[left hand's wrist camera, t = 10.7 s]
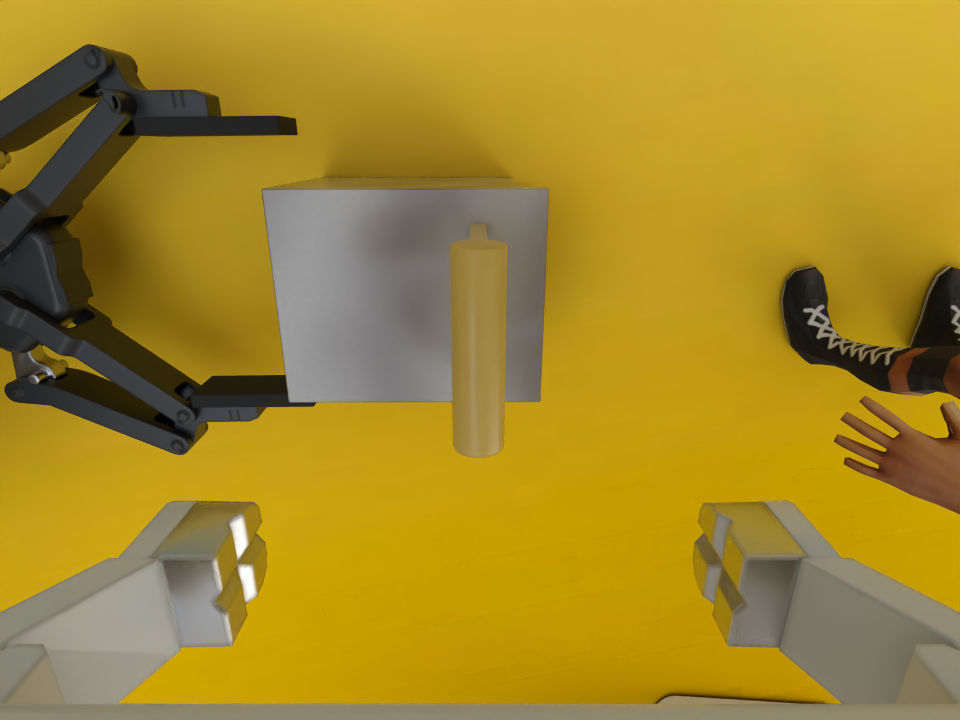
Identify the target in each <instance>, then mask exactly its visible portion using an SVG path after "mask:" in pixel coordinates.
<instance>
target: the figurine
mask: <svg viewBox="0 0 960 720" xmlns="http://www.w3.org/2000/svg"><path fill="white" fill-rule="evenodd" d="M827 303H828V296H827V292H826V287H825V283H824V278H823V275H822V274H821V273H820V272H819V271H818V269H817V268H816V267H815V266H809V267H805V268H802V269H798V270H794V271H793V272H792V274H791V275H790V276H789V277H788V279H787V280H786V281H785V284H784V288H783V292H782V296H781V308H782V317H783V321H784V325H785V329H786V333H787V337H788V341H789V345H790V346H791V347H792V348H793V349H794V350H795V351H796V352H797V353H798V354H799V355H800V356H801V357H802V358H803V359H804V360H805V361H807V362H808V363H810V364H823V365H831V366H836V367H839V368H842V369H845V370H847V371H849V372H850V373H851V374H853V375H854V376H856V377H857V378H858V379H860V380H861V381H863V382H865V383H867V384H869V385H871V386H872V387H874V388H876V389H878V390H880V391H885V392H890V393H896V394H905V395H916V396H922V395H926V394H930V393H933V392H942V393H948V394H951V395H953V396H955V397H956V398H958V399H960V269H956V268H953V267H949V266H948V267H946V268H945V269H944V270H942V271H941V272H940V273H938V274H937V275H936V276H935V278H934V280H933V282H932V284H931V286H930V288H929V290H928V292H927V295H926V298H925V302H924V305H923V309H922V312H921V315H920V319H919V321H918V324H917V326H916V329H915V331H914V334H913V337H912V340H911V342H910V345H909V348H894V347H880V346H872V345H867V344H861V343H856V342H853V341H850V340H847V339H844V338H842V337H840V336H839V335H838V334H837V333H836V331H835V330H834V329H833V327H832V325H831V322H830V318H829V315H828V311H827ZM859 402H860V403H861V404H862V405H864V406H865V407H866V408H867V409H868V410H869V411H870V412H872V413H873V414H874V415H876V416H877V417H878V418H880V419H881V420H883V421H884V422H885V423H887V424H888V425H890V426H891V427H893V428H894V429H895V430H897V431H898V432H899V433H900V434H899V435H897V436H896V437H895V438H891V437H890V436H888V435H886V434H885V433H883V432H881V431H879V430H878V429H876V428H874V427H872V426H871V425H869V424H867V423H865V422H864V421H862V420H860V419H859V418H857V417H855V416H853V415H852V414H850V413H848V412H846V413H845V414H844V416H843V417H842V418H841V419H840V420H841V421H843V422H844V423H846V424H847V425H849V426H850V427H852V428H853V429H855V430H856V431H858V432H859V433H861V434H862V435H864V436H865V437H867V438H869V439H871V440H872V441H874V442H876V443H878V444H879V445H881V446H883V447H884V448H886V449H887V450H886V452H882V451H879V450H876V449H873V448H871V447H868V446H866V445H864V444H861V443H859V442H856V441H854V440H851V439H849V438H846V437H844V436H841V435H837V436H836V438H835V440H834V442H835V443H837V444H839V445H840V446H842V447H843V448H845V449H848V450H850V451H852V452H854V453H856V454H858V455H860V456H862V457H864V458H866V459H868V460H870V461H872V462H875V463H877V464H878V465H879V469H877V468H874V467H870V466H867V465H865V464H863V463H861V462H858V461H856V460H854V459H851V458H845V460H844V465H846V466H848V467H850V468H852V469H854V470H856V471H858V472H860V473H862V474H864V475H867V476H870V477H873V478H876V479H878V480H881V481H883V482H885V483H888V484H890V485H892V486H895V487H897V488H899V489H901V490H903V491H904V492H906V493H908V494H910V495H913V496H915V497H918V498H921V499H924V500H926V501H929V502H932V503H934V504H937V505H939V506H942V507H944V508H946V509H949V510H951V511H953V512H956V513H958V514H960V411H959V409H958V407H957V406H956V404H955V402H954V401H952V402H948V403H943V404H942V405H941V407H940V409H941V412H942V415H943V417H944V420H945V422H946V423H947V427H948V431H949V435H948V438H934V437H931V436H928V435H926V434H924V433H921V432H919V431H917V430H915V429H913V428H911V427H910V426H908V425H907V424H906V423H905V422H904V421H902V420H901V419H900V418H898V417H897V416H896V415H894V414H893V413H891V412H890V411H889V410H887V409H886V408H884V407H883V406H881V405H880V404H878V403H877V402H875V401H873V400H872V399H870V398H868V397H867V396H865V397H863V398H862V399H861V400H860V401H859Z"/></svg>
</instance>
